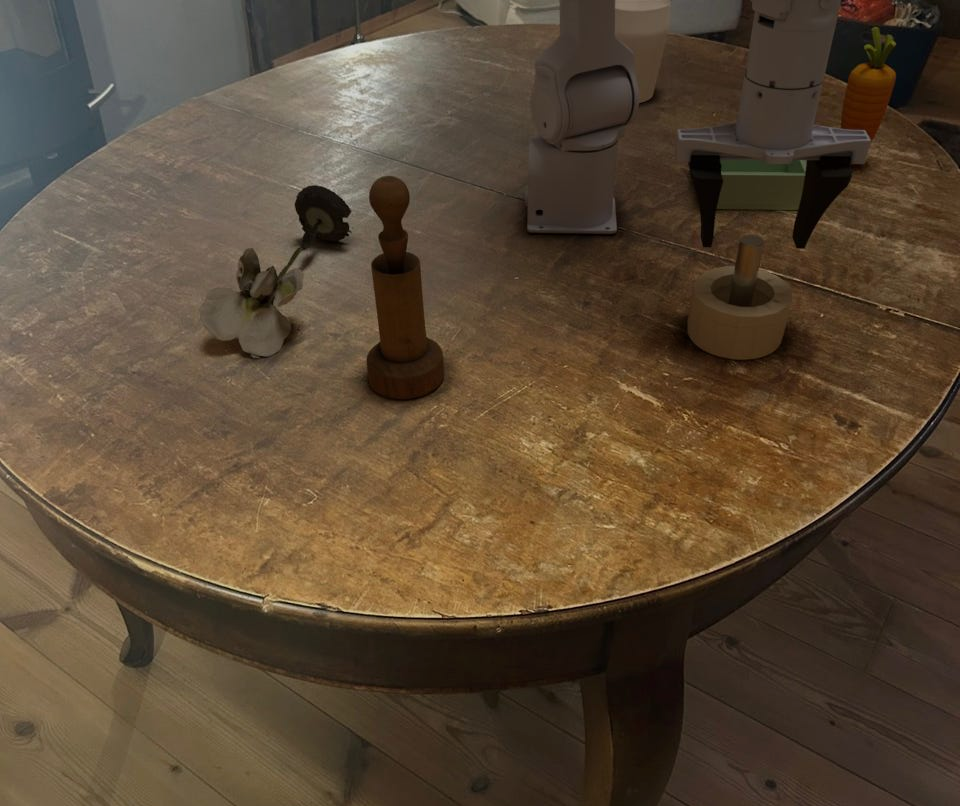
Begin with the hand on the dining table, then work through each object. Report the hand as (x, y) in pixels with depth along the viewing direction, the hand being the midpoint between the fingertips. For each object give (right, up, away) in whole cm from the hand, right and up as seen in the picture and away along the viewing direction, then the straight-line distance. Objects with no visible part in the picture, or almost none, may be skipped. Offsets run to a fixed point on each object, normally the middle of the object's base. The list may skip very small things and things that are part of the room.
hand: (751, 242), depth 78 cm
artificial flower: (-41, -2, +13) cm, 43 cm away
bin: (+7, +13, +27) cm, 31 cm away
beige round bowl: (0, -7, +6) cm, 9 cm away
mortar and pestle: (-29, -11, +2) cm, 31 cm away
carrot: (+21, +17, +31) cm, 41 cm away
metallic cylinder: (0, -6, +6) cm, 9 cm away
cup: (-3, +33, +49) cm, 59 cm away
